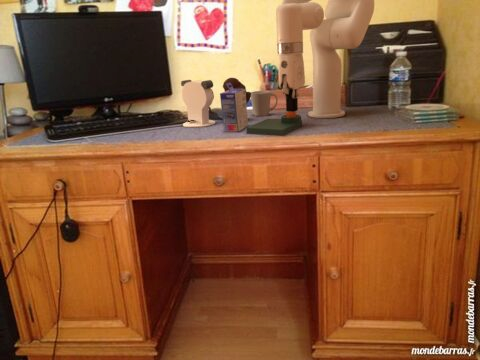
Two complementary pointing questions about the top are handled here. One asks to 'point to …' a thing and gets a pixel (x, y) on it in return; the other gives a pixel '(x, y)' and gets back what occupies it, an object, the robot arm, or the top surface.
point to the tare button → (290, 114)
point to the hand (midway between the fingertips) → (292, 110)
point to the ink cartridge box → (234, 109)
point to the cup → (262, 102)
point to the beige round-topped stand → (198, 102)
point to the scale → (276, 126)
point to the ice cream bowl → (236, 87)
